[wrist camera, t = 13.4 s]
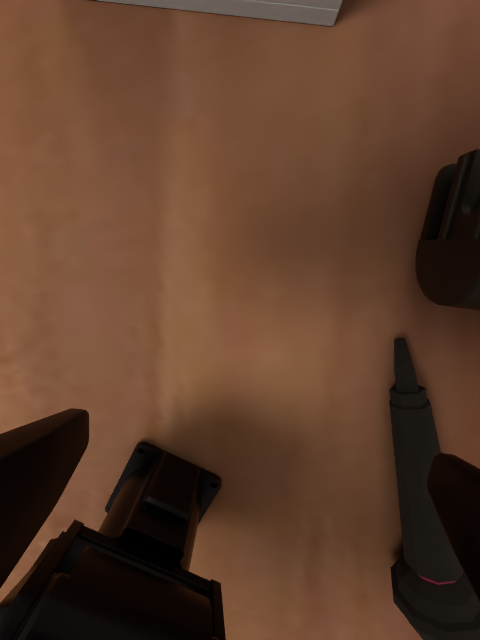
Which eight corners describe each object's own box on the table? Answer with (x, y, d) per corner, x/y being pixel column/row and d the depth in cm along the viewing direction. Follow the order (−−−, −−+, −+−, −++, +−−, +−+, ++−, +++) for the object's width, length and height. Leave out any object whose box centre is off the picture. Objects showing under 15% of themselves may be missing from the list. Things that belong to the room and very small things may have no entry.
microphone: (353, 335, 23) (394, 582, 25) (350, 357, 17) (402, 669, 20) (441, 324, 21) (478, 596, 23) (467, 346, 15) (512, 697, 17)
